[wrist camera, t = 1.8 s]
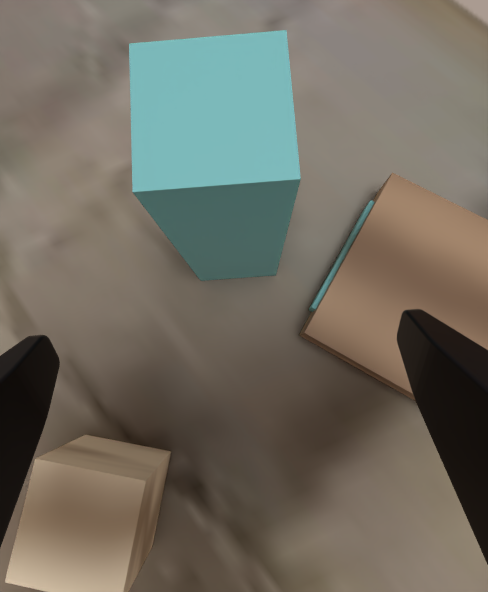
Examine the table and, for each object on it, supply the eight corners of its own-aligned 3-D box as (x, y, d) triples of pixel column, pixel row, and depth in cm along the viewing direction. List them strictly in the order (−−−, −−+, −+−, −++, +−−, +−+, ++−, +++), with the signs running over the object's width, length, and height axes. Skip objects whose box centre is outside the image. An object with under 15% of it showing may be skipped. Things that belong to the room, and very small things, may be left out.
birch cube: (152, 545, 20) (120, 608, 15) (64, 527, 21) (4, 582, 16) (171, 451, 21) (145, 480, 16) (86, 434, 21) (35, 458, 16)
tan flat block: (454, 423, 21) (486, 435, 18) (294, 333, 22) (300, 330, 19) (527, 272, 22) (568, 260, 19) (371, 193, 23) (388, 170, 20)
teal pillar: (275, 275, 22) (300, 179, 10) (200, 280, 22) (132, 191, 10) (270, 203, 23) (286, 29, 11) (197, 209, 23) (129, 43, 11)
